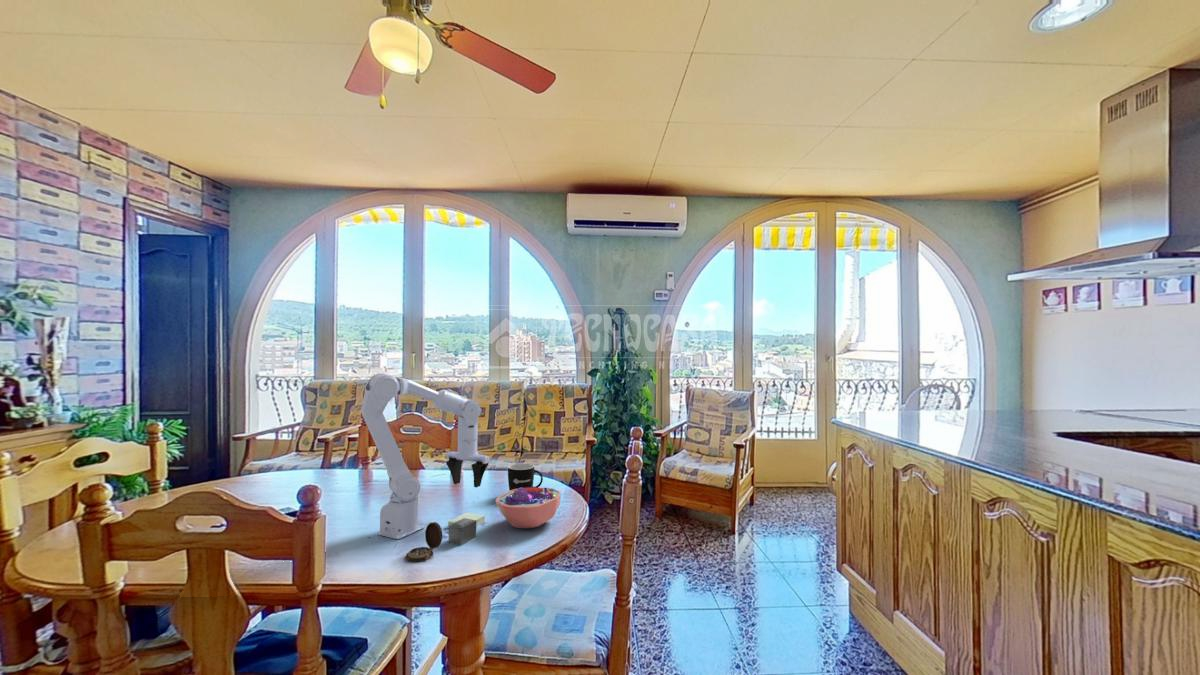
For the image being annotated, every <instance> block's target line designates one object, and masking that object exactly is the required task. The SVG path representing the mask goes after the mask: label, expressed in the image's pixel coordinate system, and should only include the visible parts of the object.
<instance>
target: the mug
mask: <svg viewBox="0 0 1200 675" xmlns="http://www.w3.org/2000/svg"><path fill="white" fill-rule="evenodd" d="M535 474H539V476H540V481H539V483H538V484H537V485H536V486H534V479H535V478H534V476H535ZM543 481H544V477H543V474H542V473H541V471H539V470H537V469H535V465H534V464H532V463H525V462H518V463H513V464H510V465H508V467H507V482H508V488H509V490H508V492H509V491H510V490H513V489H518V488H520V487H522V488H540V487H541V485H542V484H543Z"/></svg>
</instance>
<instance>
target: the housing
mask: <svg viewBox="0 0 1200 675" xmlns="http://www.w3.org/2000/svg"><path fill="white" fill-rule="evenodd" d="M475 538H477V526H476V520H472V519H466V518H463V519H461V520H459V521H457V522H455V523H453V524H451V525H449V528H448V543H449V544H453V545H457V546H463V545H465V544H467V543H468V541H469V542H470V541H472V540H473V539H475Z"/></svg>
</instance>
